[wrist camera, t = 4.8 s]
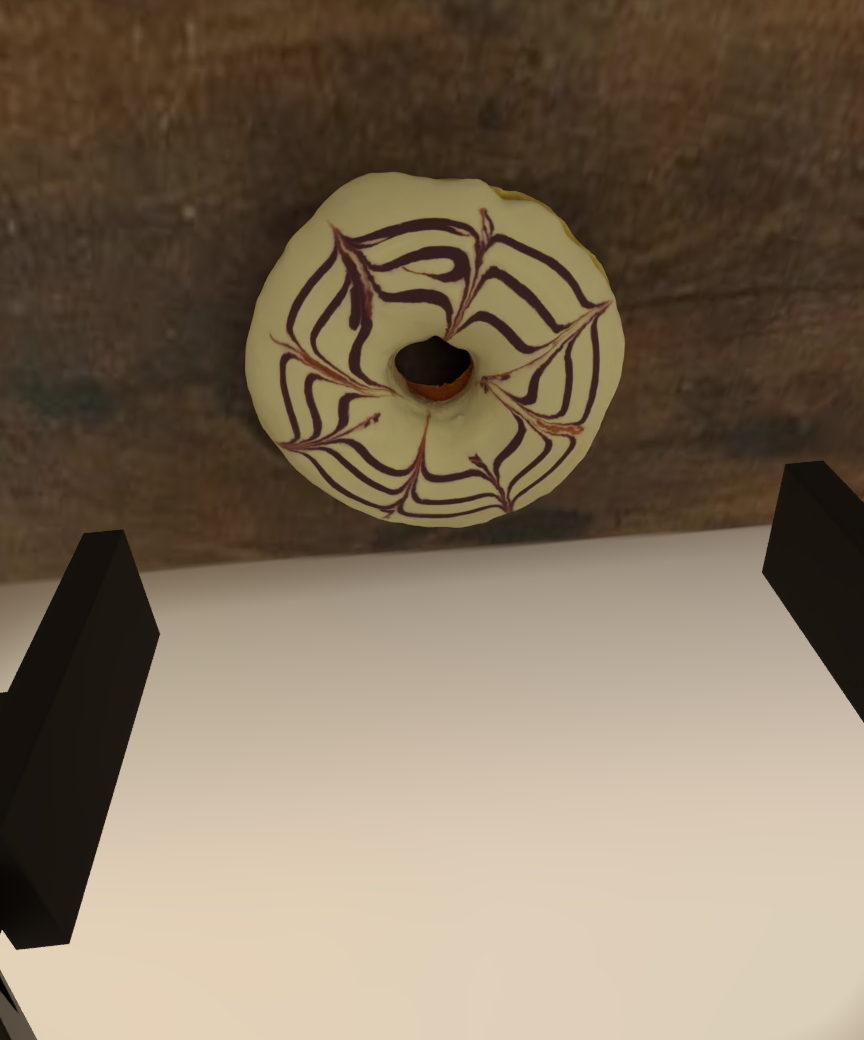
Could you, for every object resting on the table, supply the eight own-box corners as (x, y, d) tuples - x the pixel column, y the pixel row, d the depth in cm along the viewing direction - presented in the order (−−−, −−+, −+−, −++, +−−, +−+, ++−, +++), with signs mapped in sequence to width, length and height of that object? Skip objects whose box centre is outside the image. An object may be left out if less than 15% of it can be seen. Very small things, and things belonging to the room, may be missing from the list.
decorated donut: (300, 104, 21) (289, 126, 18) (656, 227, 24) (701, 265, 21) (229, 437, 27) (211, 499, 24) (525, 509, 29) (545, 573, 26)
